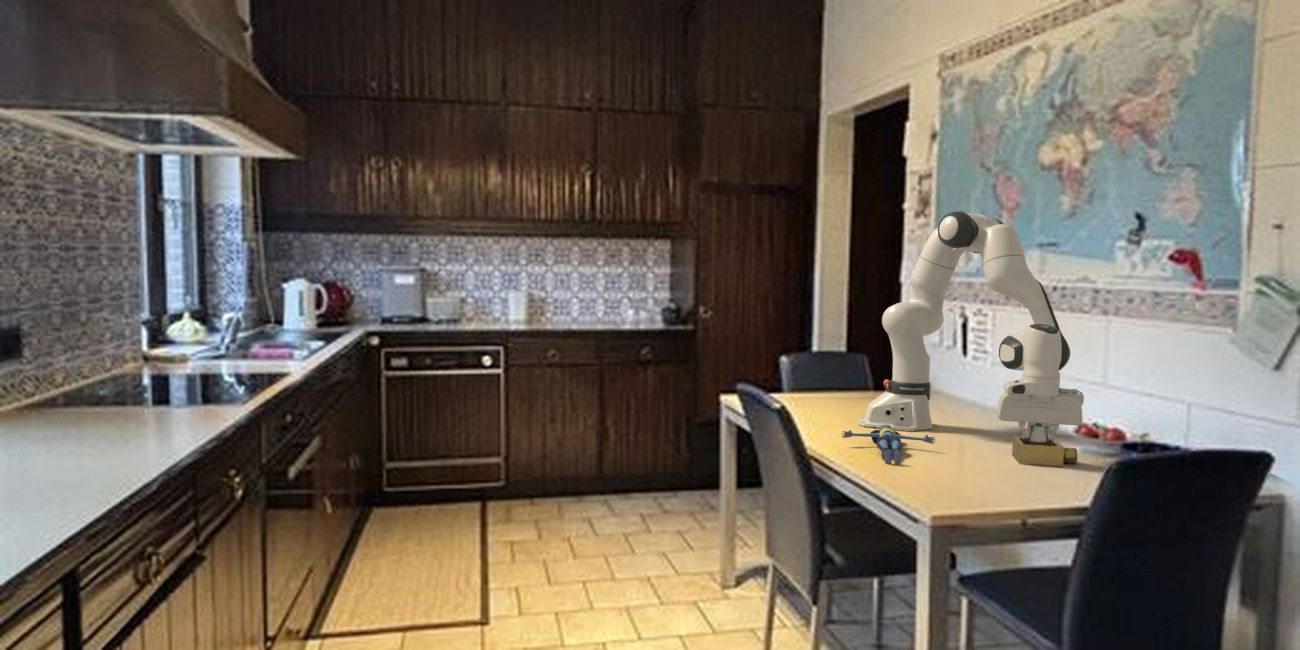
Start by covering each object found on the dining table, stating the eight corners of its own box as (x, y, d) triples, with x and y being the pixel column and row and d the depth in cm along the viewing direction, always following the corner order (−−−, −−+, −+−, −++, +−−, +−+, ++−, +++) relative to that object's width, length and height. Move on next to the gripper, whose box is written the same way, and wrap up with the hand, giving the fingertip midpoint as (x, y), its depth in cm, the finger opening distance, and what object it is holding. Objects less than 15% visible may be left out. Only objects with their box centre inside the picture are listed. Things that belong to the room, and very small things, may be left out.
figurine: (894, 466, 216) (894, 445, 215) (827, 446, 238) (828, 427, 238) (955, 458, 226) (956, 438, 225) (886, 440, 248) (886, 421, 248)
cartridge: (1028, 456, 222) (1030, 422, 222) (1025, 452, 227) (1027, 419, 226) (1048, 458, 221) (1050, 423, 220) (1044, 454, 226) (1046, 420, 225)
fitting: (1019, 463, 220) (1020, 439, 220) (1008, 451, 235) (1010, 428, 235) (1080, 468, 217) (1081, 443, 216) (1065, 454, 232) (1067, 431, 231)
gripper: (1081, 387, 223) (1078, 440, 224) (997, 383, 228) (994, 434, 229) (1087, 391, 217) (1084, 445, 218) (1001, 386, 222) (998, 439, 223)
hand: (1037, 439), depth 224 cm, fingers closed on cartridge, 4 cm apart
